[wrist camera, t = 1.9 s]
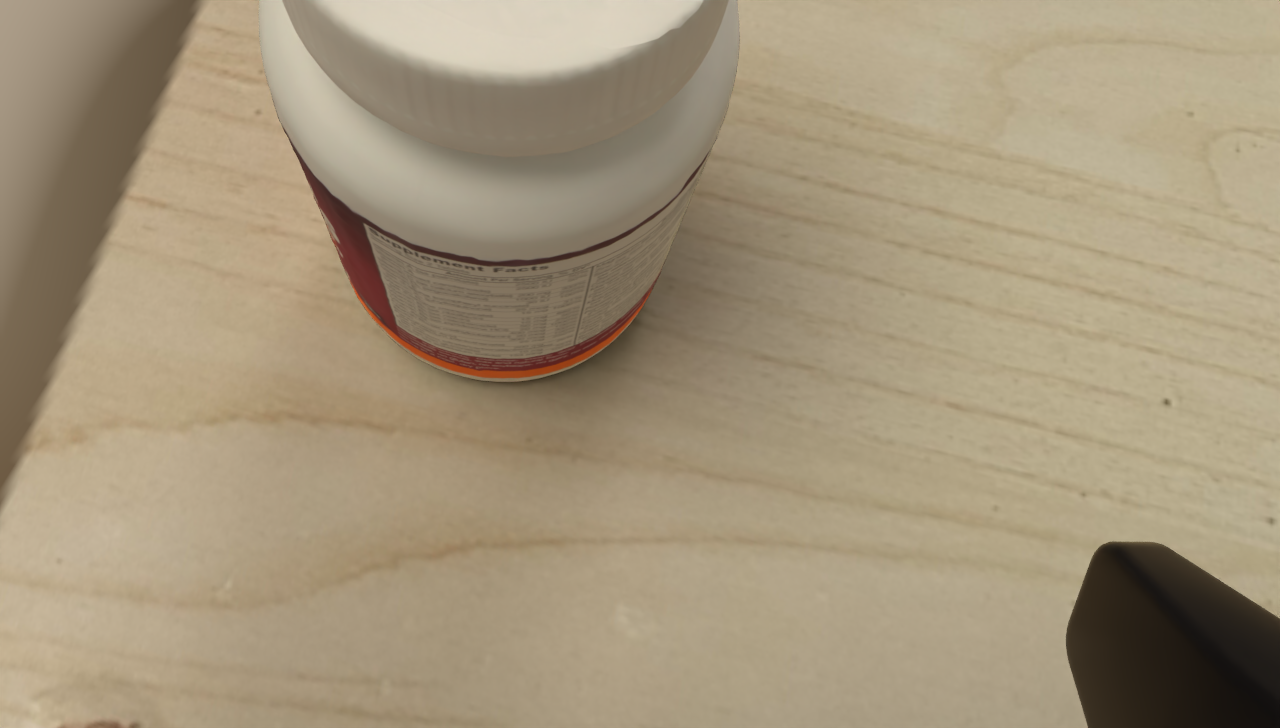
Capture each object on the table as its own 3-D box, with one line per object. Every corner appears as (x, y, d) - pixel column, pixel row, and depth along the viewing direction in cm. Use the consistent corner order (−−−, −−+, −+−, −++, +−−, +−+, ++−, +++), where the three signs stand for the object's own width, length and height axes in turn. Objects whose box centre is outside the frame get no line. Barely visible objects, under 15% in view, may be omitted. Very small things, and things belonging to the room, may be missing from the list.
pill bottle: (351, 85, 23) (206, -435, 12) (660, 97, 24) (791, -384, 13) (335, 389, 21) (154, 113, 10) (665, 393, 22) (820, 138, 11)
